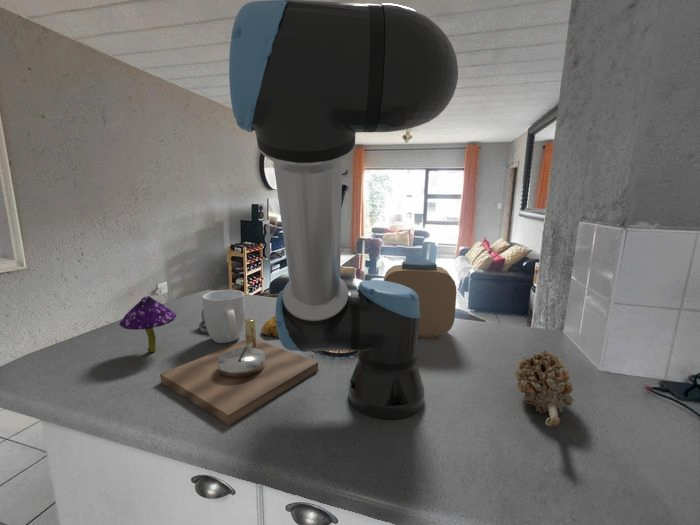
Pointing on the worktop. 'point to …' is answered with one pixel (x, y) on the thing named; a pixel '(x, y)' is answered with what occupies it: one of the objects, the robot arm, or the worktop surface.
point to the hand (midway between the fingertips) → (323, 249)
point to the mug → (224, 314)
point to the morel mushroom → (545, 384)
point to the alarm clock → (428, 295)
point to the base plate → (237, 381)
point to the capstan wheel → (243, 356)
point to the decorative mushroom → (148, 318)
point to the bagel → (270, 327)
